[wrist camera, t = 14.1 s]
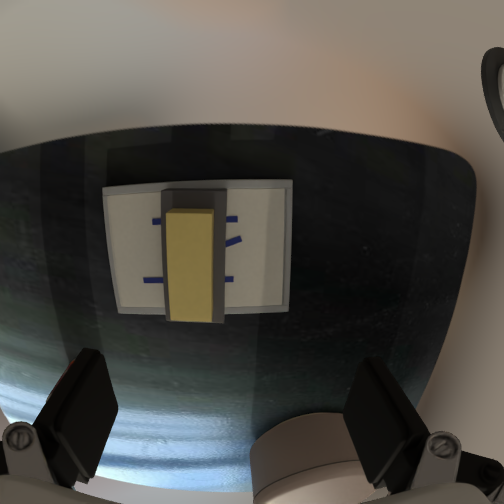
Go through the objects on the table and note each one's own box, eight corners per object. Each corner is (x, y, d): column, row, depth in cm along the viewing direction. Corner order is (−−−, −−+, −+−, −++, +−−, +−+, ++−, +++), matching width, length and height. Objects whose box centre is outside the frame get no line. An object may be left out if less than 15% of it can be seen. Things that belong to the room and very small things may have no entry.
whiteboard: (290, 179, 27) (292, 179, 26) (286, 307, 31) (288, 312, 30) (106, 186, 26) (101, 187, 25) (121, 309, 30) (118, 313, 29)
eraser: (166, 188, 26) (152, 192, 21) (227, 188, 26) (226, 193, 21) (170, 309, 29) (160, 334, 24) (224, 310, 29) (223, 337, 24)
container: (357, 388, 35) (390, 450, 24) (362, 450, 40) (383, 499, 29) (232, 425, 36) (234, 494, 24) (265, 478, 41) (272, 530, 29)
